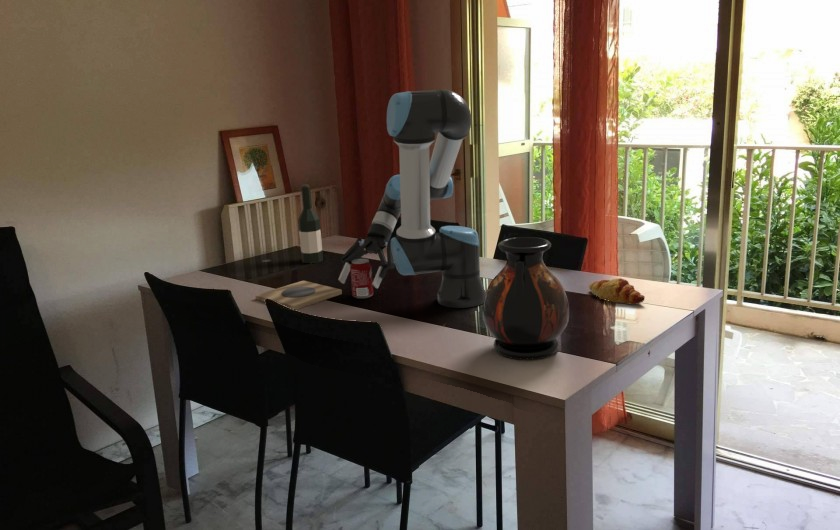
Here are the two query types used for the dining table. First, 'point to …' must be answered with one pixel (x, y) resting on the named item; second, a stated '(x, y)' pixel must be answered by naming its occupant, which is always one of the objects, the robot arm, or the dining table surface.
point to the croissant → (616, 291)
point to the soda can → (361, 278)
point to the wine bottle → (309, 230)
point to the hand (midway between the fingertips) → (357, 284)
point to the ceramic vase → (525, 302)
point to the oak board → (300, 294)
